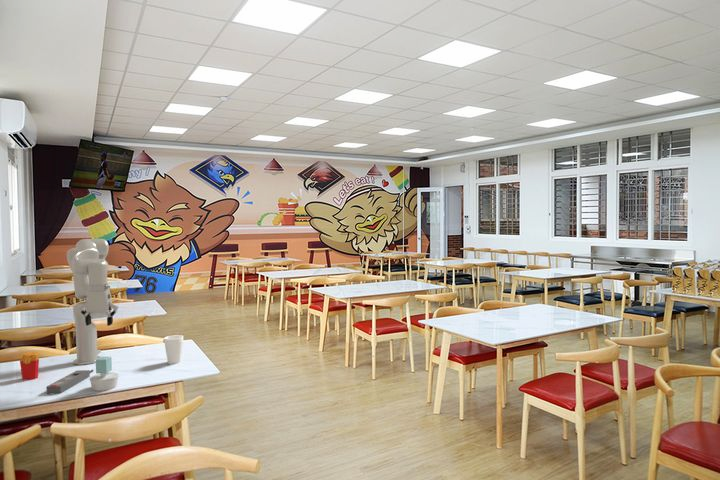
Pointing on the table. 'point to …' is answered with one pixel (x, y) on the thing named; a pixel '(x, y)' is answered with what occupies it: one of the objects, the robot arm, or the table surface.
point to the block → (103, 365)
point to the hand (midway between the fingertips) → (99, 324)
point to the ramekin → (104, 381)
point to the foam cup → (173, 348)
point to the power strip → (68, 381)
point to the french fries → (29, 365)
